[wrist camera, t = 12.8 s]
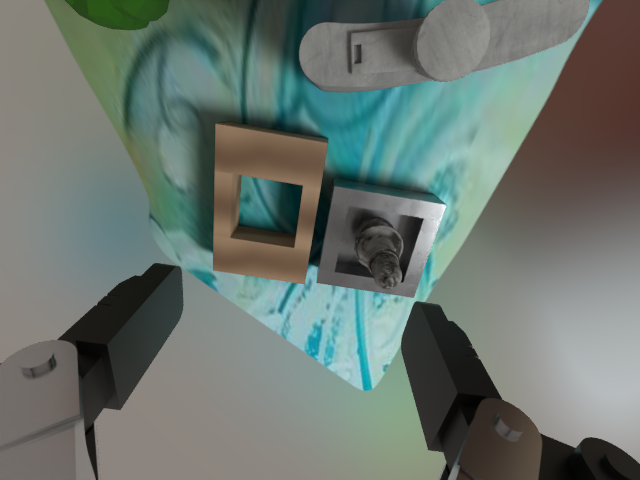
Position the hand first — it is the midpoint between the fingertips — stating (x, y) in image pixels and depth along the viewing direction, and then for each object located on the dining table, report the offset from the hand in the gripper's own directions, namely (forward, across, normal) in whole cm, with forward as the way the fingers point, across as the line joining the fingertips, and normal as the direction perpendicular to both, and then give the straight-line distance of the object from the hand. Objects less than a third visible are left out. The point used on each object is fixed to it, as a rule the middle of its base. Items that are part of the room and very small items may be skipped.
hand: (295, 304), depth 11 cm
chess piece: (+28, -9, +9) cm, 31 cm away
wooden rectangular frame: (+29, +5, +7) cm, 31 cm away
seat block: (+29, -9, +9) cm, 32 cm away
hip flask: (+30, -6, -10) cm, 32 cm away
